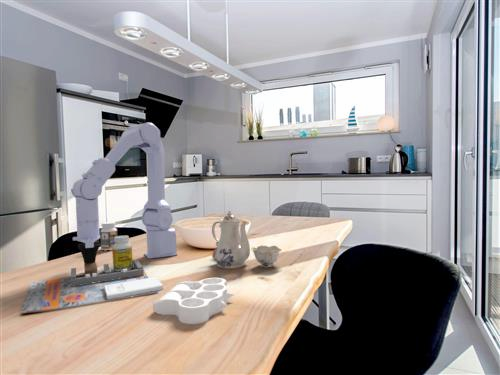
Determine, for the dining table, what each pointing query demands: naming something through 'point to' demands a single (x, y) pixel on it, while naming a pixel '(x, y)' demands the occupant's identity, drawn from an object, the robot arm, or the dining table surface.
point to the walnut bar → (90, 268)
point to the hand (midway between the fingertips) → (90, 268)
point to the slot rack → (106, 274)
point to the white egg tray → (194, 300)
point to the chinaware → (239, 246)
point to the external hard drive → (132, 287)
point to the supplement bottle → (122, 254)
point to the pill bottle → (108, 235)
